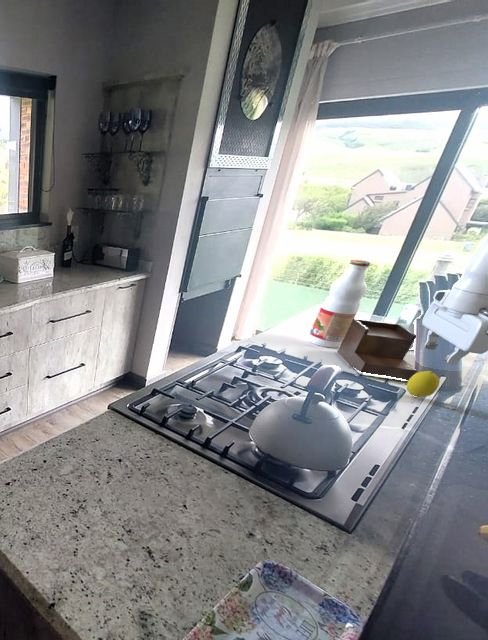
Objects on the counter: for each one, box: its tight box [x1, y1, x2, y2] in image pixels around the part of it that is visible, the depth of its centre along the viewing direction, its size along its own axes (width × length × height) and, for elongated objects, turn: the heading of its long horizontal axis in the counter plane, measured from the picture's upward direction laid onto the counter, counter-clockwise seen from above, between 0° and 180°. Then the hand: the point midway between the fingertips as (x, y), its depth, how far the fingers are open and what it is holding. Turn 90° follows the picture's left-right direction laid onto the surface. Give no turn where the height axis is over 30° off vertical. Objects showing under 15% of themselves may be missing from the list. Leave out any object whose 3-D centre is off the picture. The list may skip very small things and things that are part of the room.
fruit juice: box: [307, 259, 371, 349], centre depth 133 cm, size 9×9×28 cm
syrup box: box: [395, 303, 421, 352], centre depth 135 cm, size 6×6×14 cm
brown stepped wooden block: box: [337, 318, 418, 383], centre depth 122 cm, size 12×18×12 cm, turn 159°
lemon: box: [406, 370, 440, 399], centre depth 106 cm, size 6×6×8 cm
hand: (438, 355), depth 102 cm, fingers open, 8 cm apart
